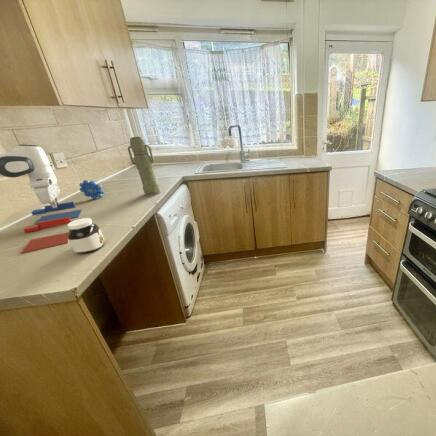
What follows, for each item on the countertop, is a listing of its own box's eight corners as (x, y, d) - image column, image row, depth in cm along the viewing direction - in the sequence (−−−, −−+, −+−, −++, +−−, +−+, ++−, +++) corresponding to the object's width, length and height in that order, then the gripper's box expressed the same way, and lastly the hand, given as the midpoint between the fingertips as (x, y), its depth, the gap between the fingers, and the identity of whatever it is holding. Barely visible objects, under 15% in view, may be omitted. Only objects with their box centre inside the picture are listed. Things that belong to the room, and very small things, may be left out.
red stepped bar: (24, 232, 108) (21, 226, 106) (27, 229, 110) (24, 223, 109) (70, 224, 115) (68, 218, 114) (72, 221, 118) (69, 216, 117)
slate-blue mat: (35, 225, 115) (35, 224, 114) (42, 217, 124) (42, 216, 124) (78, 217, 122) (78, 216, 122) (81, 210, 132) (81, 209, 131)
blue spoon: (32, 215, 116) (29, 209, 115) (34, 213, 119) (32, 207, 118) (74, 208, 124) (72, 202, 122) (76, 206, 126) (73, 200, 125)
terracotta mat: (21, 253, 91) (20, 252, 91) (31, 240, 100) (30, 239, 100) (75, 242, 99) (75, 240, 99) (80, 231, 108) (79, 229, 108)
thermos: (163, 195, 152) (146, 136, 138) (142, 198, 148) (122, 138, 134) (164, 191, 160) (148, 135, 145) (143, 194, 156) (125, 137, 141)
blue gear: (81, 202, 145) (72, 183, 140) (86, 198, 151) (77, 180, 146) (103, 199, 148) (96, 180, 143) (107, 196, 154) (100, 177, 149)
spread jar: (96, 254, 89) (83, 226, 84) (61, 259, 87) (46, 231, 82) (111, 239, 100) (100, 213, 95) (80, 243, 98) (67, 217, 93)
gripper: (40, 176, 122) (52, 202, 127) (28, 185, 106) (42, 214, 112) (57, 174, 125) (68, 199, 130) (47, 183, 109) (59, 211, 115)
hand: (56, 206), depth 121 cm, fingers closed on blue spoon
